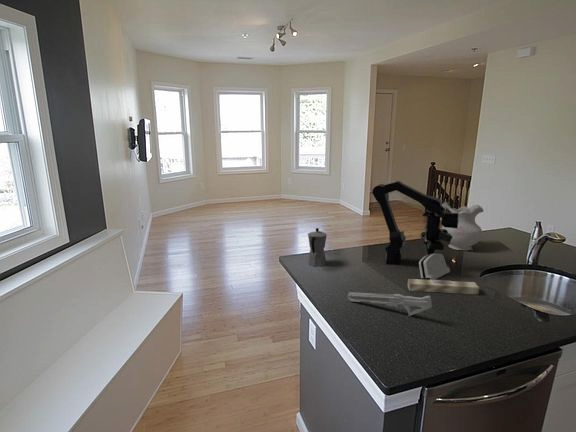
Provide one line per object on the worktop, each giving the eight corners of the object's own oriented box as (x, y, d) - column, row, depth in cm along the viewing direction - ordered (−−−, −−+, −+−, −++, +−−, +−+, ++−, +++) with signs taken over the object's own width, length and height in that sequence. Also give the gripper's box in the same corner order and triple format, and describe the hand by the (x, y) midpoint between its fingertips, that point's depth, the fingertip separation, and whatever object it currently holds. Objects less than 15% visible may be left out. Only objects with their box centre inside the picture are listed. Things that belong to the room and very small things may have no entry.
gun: (432, 318, 119) (429, 297, 118) (349, 311, 136) (346, 292, 134) (433, 316, 121) (430, 294, 120) (351, 309, 137) (348, 290, 136)
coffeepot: (311, 257, 181) (311, 224, 177) (329, 259, 178) (329, 225, 174) (302, 268, 167) (302, 232, 163) (321, 271, 164) (322, 234, 160)
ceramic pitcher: (439, 253, 188) (444, 208, 180) (433, 239, 206) (437, 198, 199) (483, 255, 184) (491, 210, 176) (473, 241, 202) (479, 199, 194)
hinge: (431, 281, 151) (425, 258, 151) (421, 281, 155) (416, 259, 155) (450, 271, 161) (445, 249, 161) (441, 271, 165) (435, 250, 165)
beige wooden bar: (409, 290, 143) (410, 283, 142) (407, 285, 148) (408, 278, 147) (478, 294, 139) (479, 286, 138) (474, 289, 143) (474, 281, 143)
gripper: (458, 232, 150) (454, 266, 154) (445, 220, 168) (442, 251, 172) (430, 231, 152) (427, 265, 156) (421, 220, 170) (419, 251, 174)
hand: (430, 258), depth 164 cm, fingers closed
